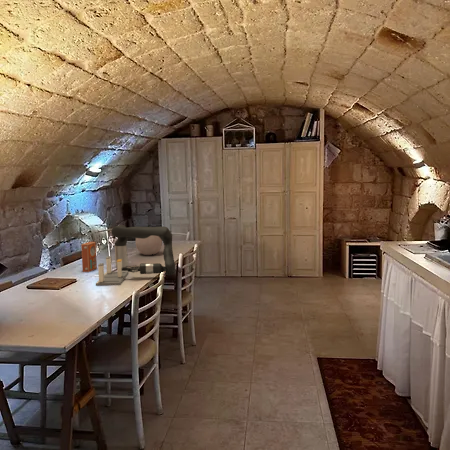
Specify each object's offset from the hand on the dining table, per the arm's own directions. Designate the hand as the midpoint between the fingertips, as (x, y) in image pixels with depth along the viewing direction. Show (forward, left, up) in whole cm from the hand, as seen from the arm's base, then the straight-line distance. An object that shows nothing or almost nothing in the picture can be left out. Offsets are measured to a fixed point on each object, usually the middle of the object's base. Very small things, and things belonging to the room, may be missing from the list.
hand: (122, 269), depth 301 cm
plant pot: (-89, -31, -7) cm, 94 cm away
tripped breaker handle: (0, -2, -5) cm, 6 cm away
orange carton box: (-17, -41, -7) cm, 45 cm away
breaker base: (+2, -6, -7) cm, 10 cm away
